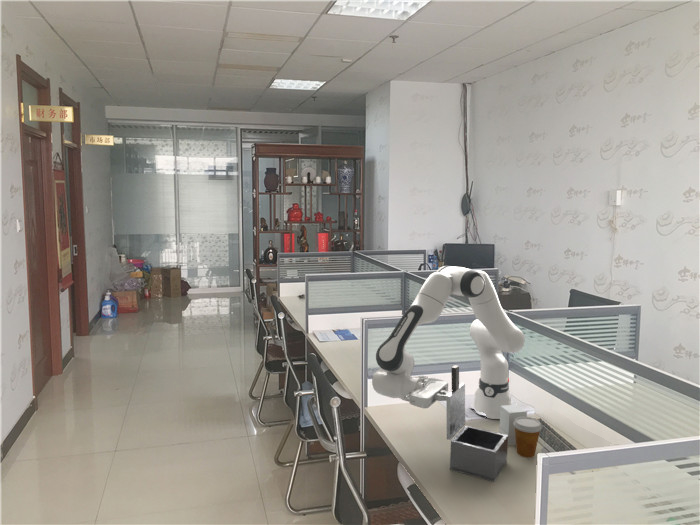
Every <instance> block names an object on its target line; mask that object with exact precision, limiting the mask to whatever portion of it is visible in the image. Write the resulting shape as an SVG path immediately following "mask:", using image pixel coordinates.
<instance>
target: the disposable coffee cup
mask: <svg viewBox="0 0 700 525" xmlns="http://www.w3.org/2000/svg"><path fill="white" fill-rule="evenodd" d="M514 427H515V436H516V445H515V446H516V448H515V449H516V450H515V451H516V454H517V455H518V456H519V457H521V458H527V459H528V458H530V459H531V458H534V457H535V456H536V453H537V452H536V451H537V447H538V446H537V445H538V442H539V437H540V431H541V430H542V427H543V426H542V424H541V422H540V420H538V419H536V418H533V417H530V416H527V417H518V418H516V419H515V422H514Z"/></svg>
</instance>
